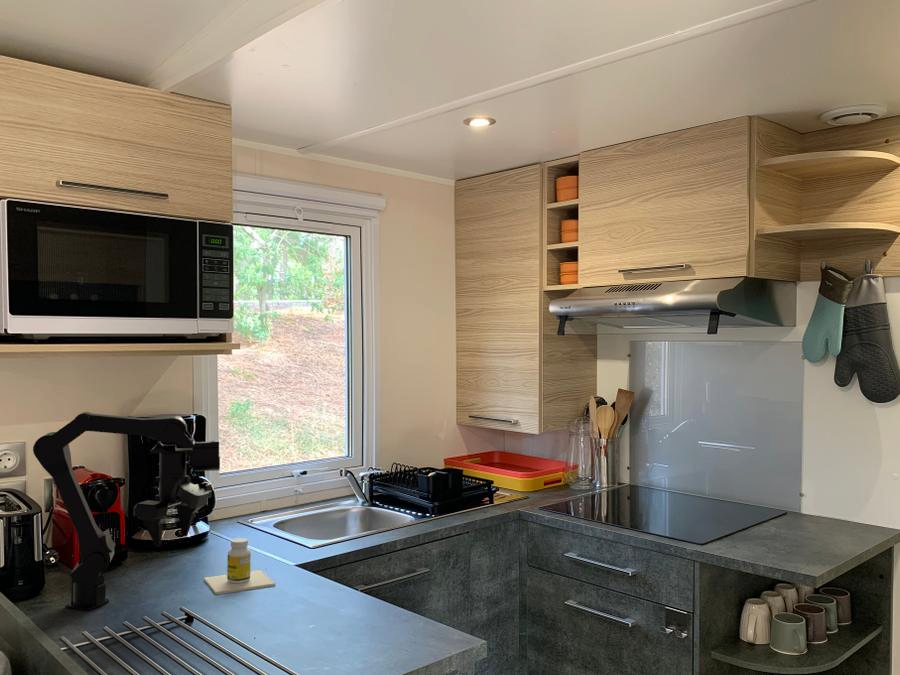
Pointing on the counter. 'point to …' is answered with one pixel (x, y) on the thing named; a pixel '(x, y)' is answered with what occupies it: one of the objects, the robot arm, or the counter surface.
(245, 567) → the supplement bottle
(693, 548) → the counter surface
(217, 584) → the rubber mat
